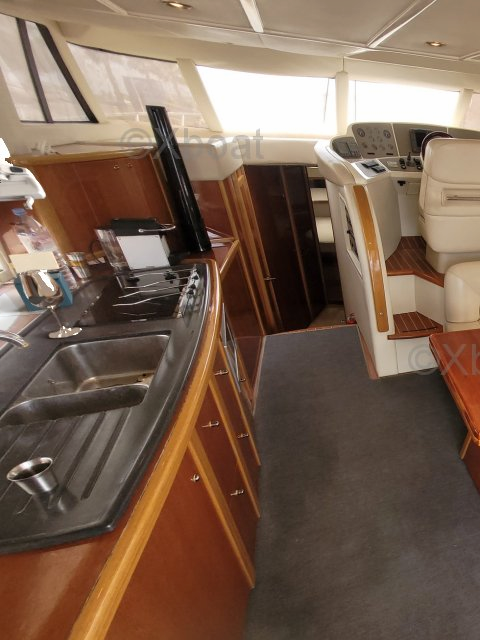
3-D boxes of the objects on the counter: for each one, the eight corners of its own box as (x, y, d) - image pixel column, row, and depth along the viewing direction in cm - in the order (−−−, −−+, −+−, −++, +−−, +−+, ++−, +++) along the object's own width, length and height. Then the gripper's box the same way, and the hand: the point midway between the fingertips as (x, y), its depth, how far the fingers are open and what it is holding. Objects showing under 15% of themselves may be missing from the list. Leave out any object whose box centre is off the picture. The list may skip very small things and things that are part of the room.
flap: (16, 273, 138) (17, 273, 138) (59, 268, 144) (59, 268, 145) (8, 255, 136) (8, 255, 136) (51, 251, 143) (52, 251, 143)
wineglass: (49, 341, 119) (14, 278, 109) (47, 332, 123) (12, 271, 113) (84, 333, 124) (53, 273, 114) (80, 325, 128) (50, 266, 118)
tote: (31, 300, 143) (16, 272, 138) (72, 294, 150) (59, 268, 144) (29, 311, 135) (13, 283, 130) (72, 305, 141) (58, 277, 136)
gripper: (-52, 171, 131) (-39, 208, 130) (32, 168, 141) (44, 202, 141) (-38, 182, 137) (-26, 218, 136) (41, 179, 147) (53, 212, 146)
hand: (10, 210), depth 138 cm, fingers open, 8 cm apart
